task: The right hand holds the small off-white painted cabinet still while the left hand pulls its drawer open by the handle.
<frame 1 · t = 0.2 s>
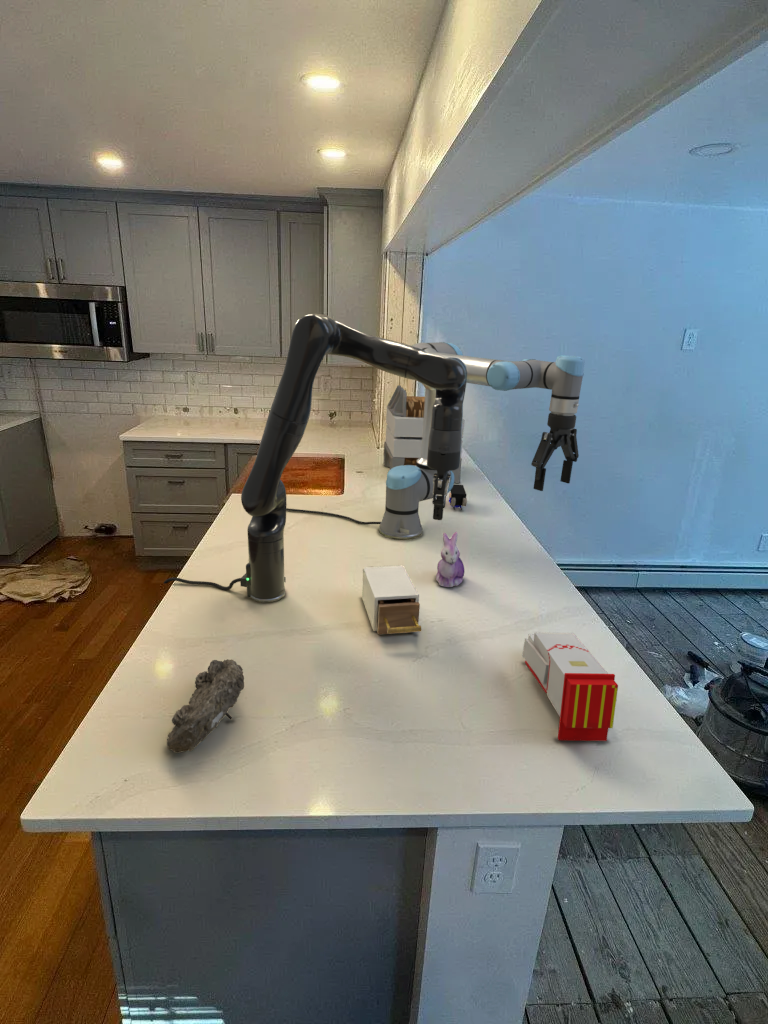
left hand: (439, 513, 136), 29 cm above the counter, tool pointing down, fingers open, 8 cm apart
right hand: (551, 486, 165), 28 cm above the counter, tool pointing down, fingers open, 13 cm apart
toy: (558, 695, 119), on the counter
cabinet: (388, 612, 148), on the counter
fossil: (212, 717, 108), on the counter
figurine: (449, 581, 167), on the counter
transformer: (419, 473, 275), on the counter
drawer: (394, 609, 140), point 5 cm above the counter, slide at 1.8 cm
figurine character: (456, 506, 231), on the counter
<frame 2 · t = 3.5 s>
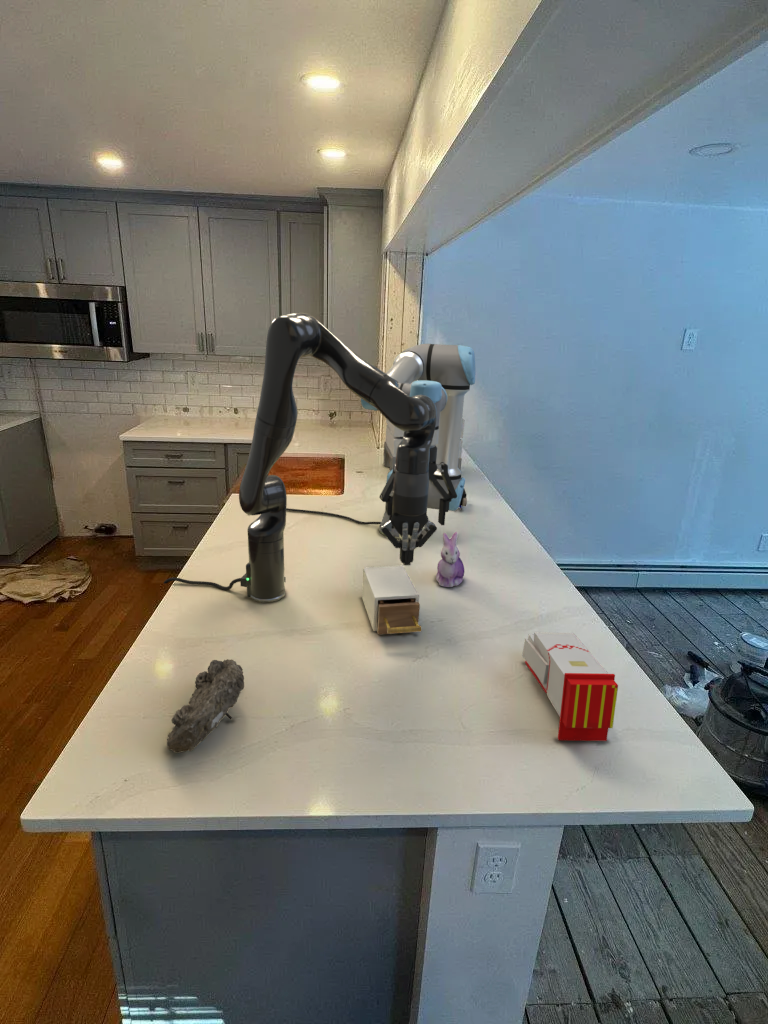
left hand: (406, 563, 127), 21 cm above the counter, tool pointing down, fingers closed
right hand: (416, 525, 147), 22 cm above the counter, tool pointing down, fingers open, 13 cm apart
nothing on the counter moved.
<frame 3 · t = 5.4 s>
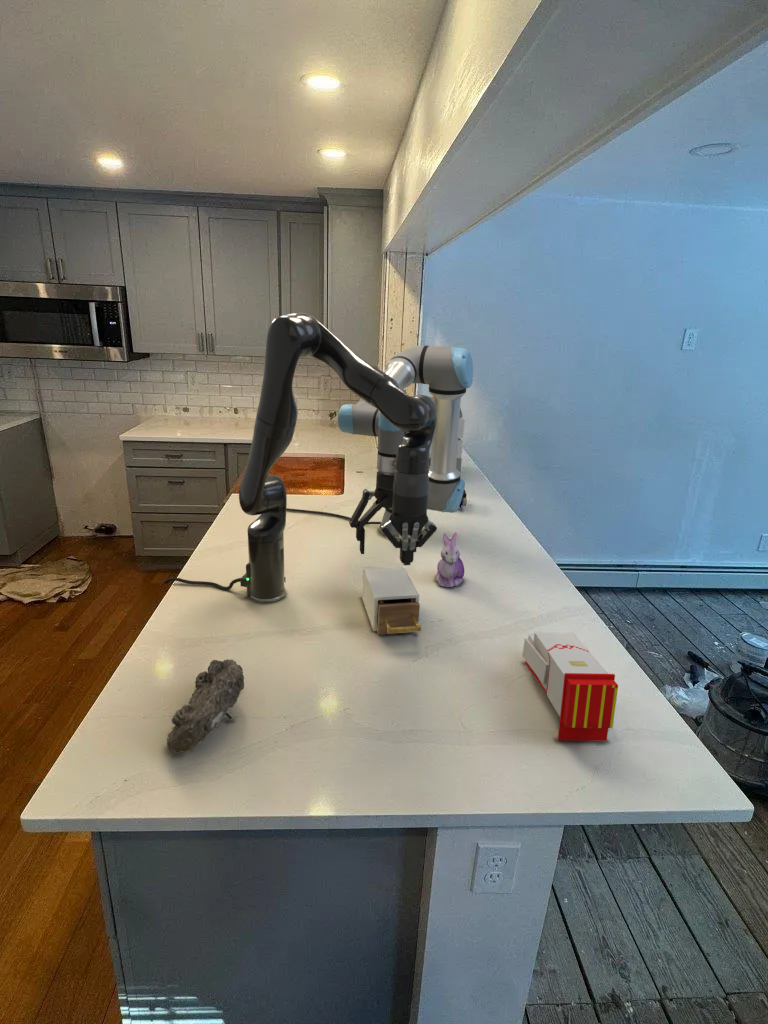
left hand: (406, 563, 127), 21 cm above the counter, tool pointing down, fingers closed
right hand: (387, 551, 146), 16 cm above the counter, tool pointing down, fingers open, 13 cm apart
nothing on the counter moved.
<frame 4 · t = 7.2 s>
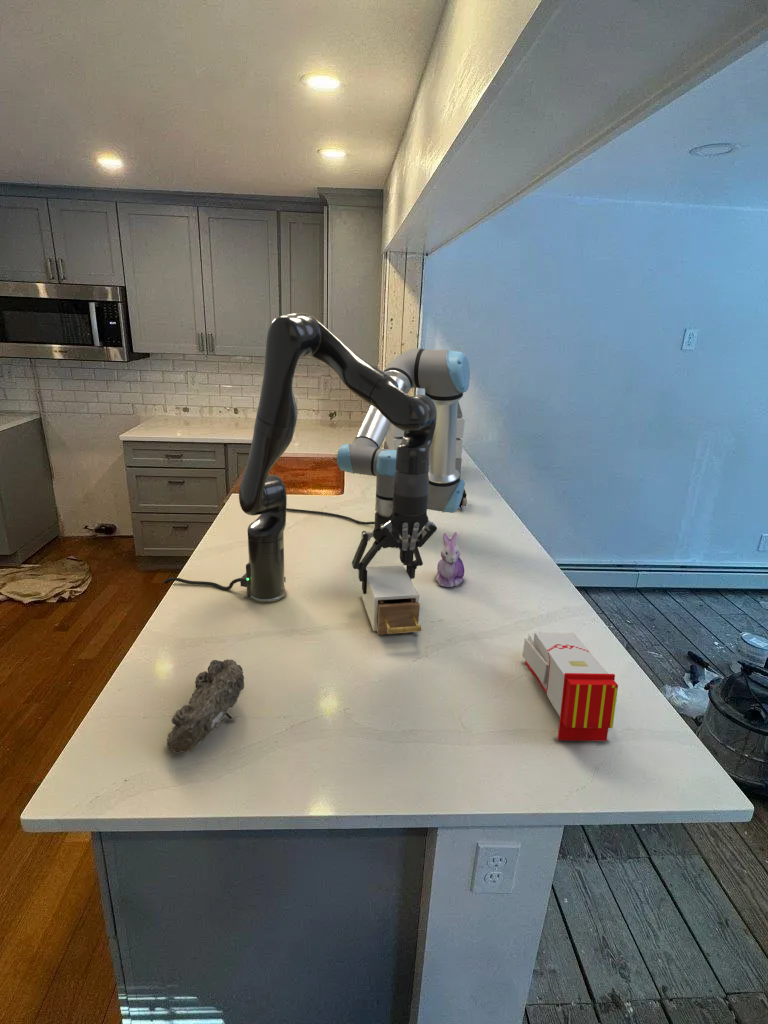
left hand: (406, 563, 127), 21 cm above the counter, tool pointing down, fingers closed
right hand: (386, 590, 150), 5 cm above the counter, tool pointing down, fingers closed on cabinet, 11 cm apart
cabinet: (388, 612, 148), on the counter, touching right hand
everything else where it was.
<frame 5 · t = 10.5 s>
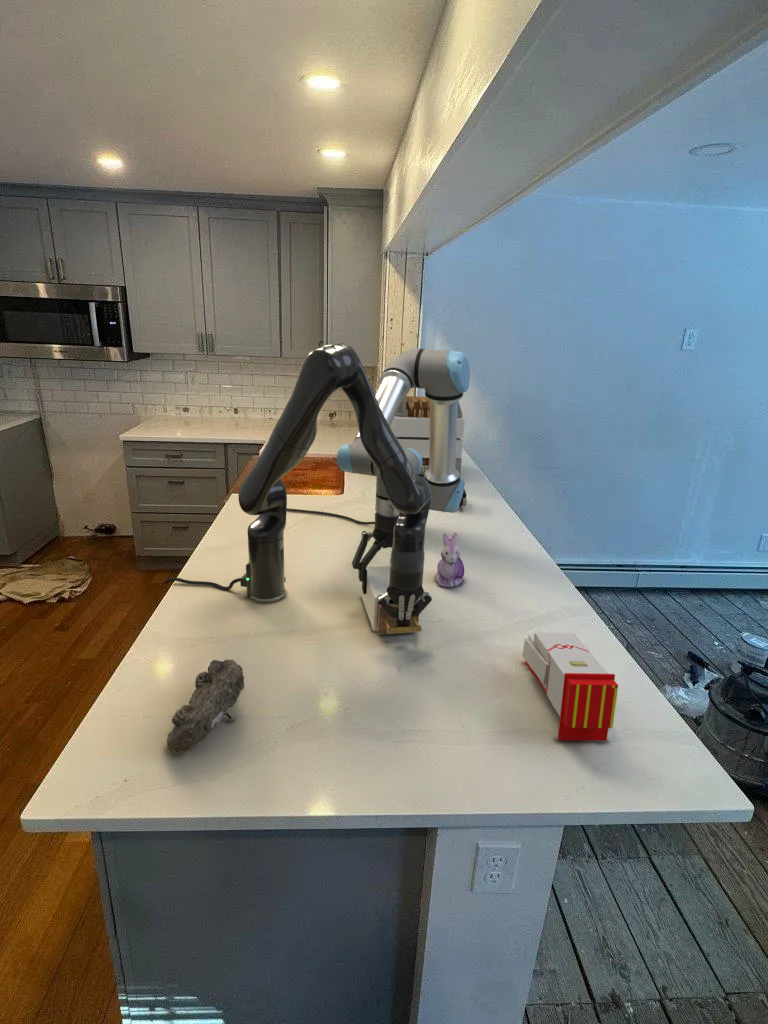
left hand: (402, 631, 133), 4 cm above the counter, tool pointing down, fingers closed
right hand: (386, 590, 150), 5 cm above the counter, tool pointing down, fingers closed on cabinet, 11 cm apart
cabinet: (388, 612, 148), on the counter, touching right hand
drawer: (394, 609, 140), point 5 cm above the counter, slide at 1.8 cm, touching left hand
everything else where it was.
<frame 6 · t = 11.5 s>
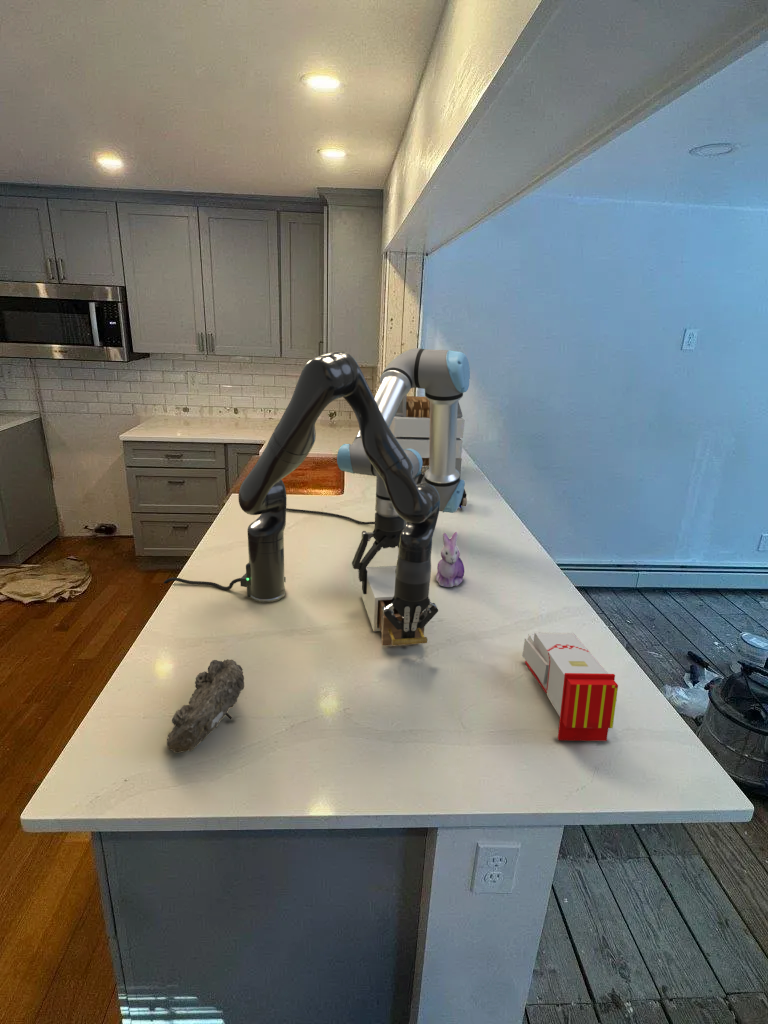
left hand: (407, 642, 129), 4 cm above the counter, tool pointing down, fingers closed
right hand: (386, 590, 150), 5 cm above the counter, tool pointing down, fingers closed on cabinet, 11 cm apart
cabinet: (388, 612, 148), on the counter, touching right hand
drawer: (399, 619, 136), point 5 cm above the counter, slide at 6.6 cm, touching left hand
everything else where it was.
when the right hand's fingers open (5 cm above the counter, at t = 13.1 s): cabinet stays where it is, on the counter.
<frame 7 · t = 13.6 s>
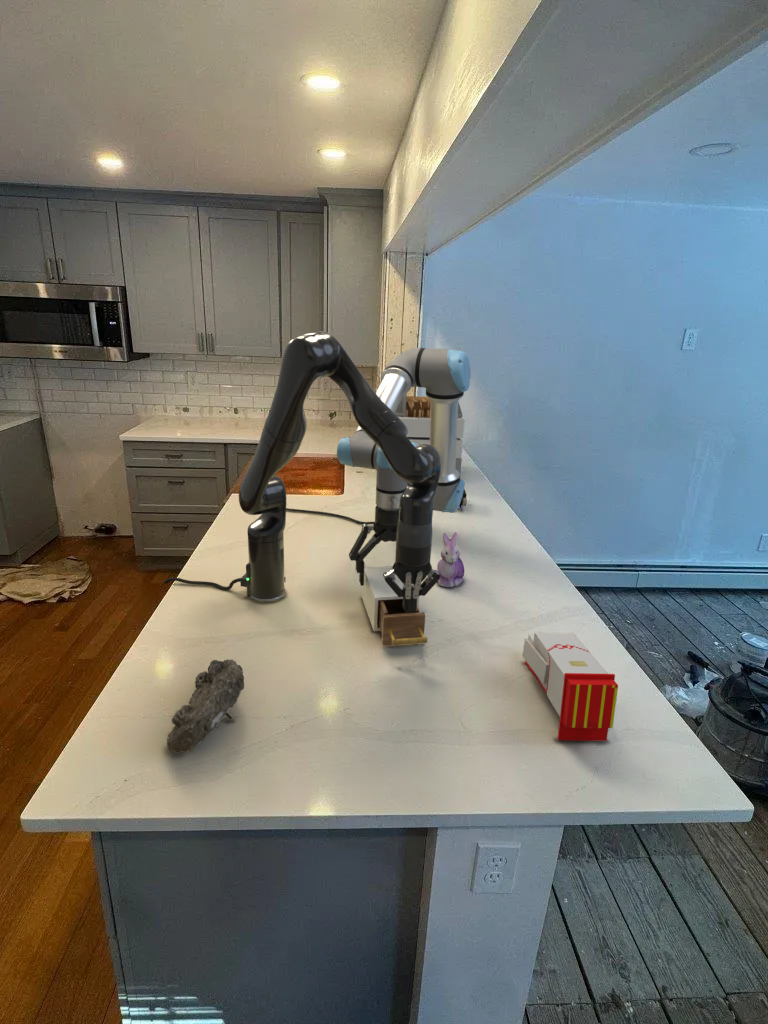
left hand: (409, 611, 126), 12 cm above the counter, tool pointing down, fingers closed
right hand: (386, 581, 149), 7 cm above the counter, tool pointing down, fingers open, 13 cm apart
cabinet: (388, 612, 148), on the counter
drawer: (399, 619, 136), point 5 cm above the counter, slide at 6.6 cm
everything else where it was.
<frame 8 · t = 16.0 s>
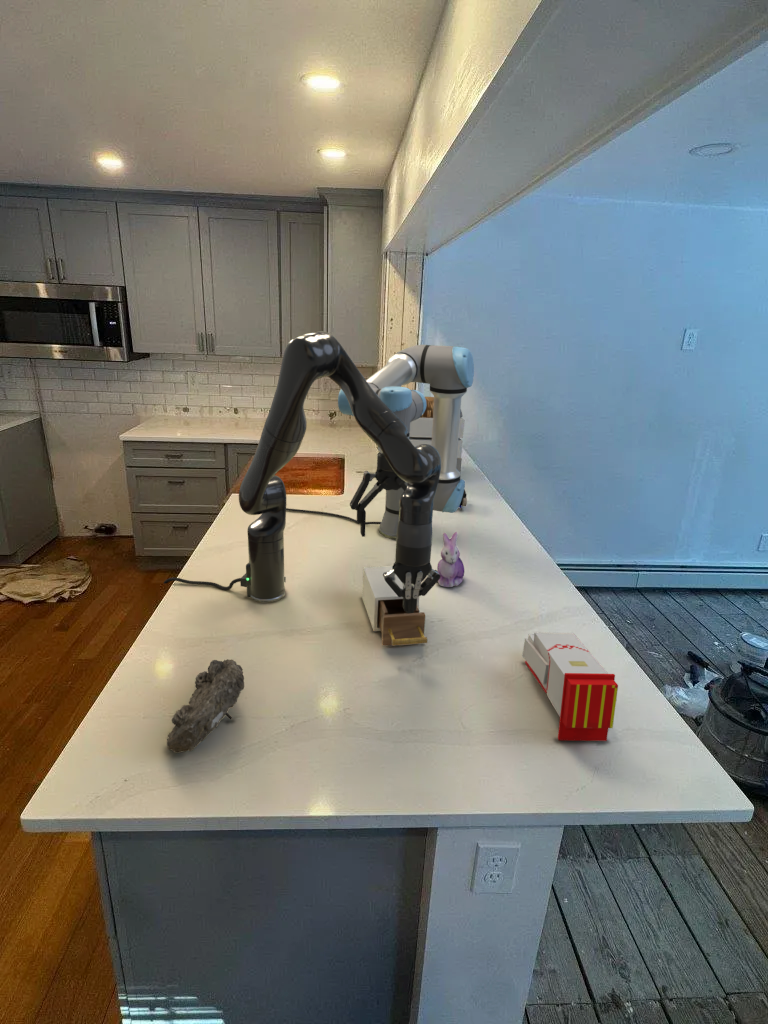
left hand: (409, 611, 126), 12 cm above the counter, tool pointing down, fingers closed
right hand: (389, 533, 144), 21 cm above the counter, tool pointing down, fingers open, 13 cm apart
nothing on the counter moved.
at the end: drawer slide at 6.6 cm; cabinet tilted 0°; cabinet never tilted more than 1° during the clip; cabinet moved 0.1 cm from its start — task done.
